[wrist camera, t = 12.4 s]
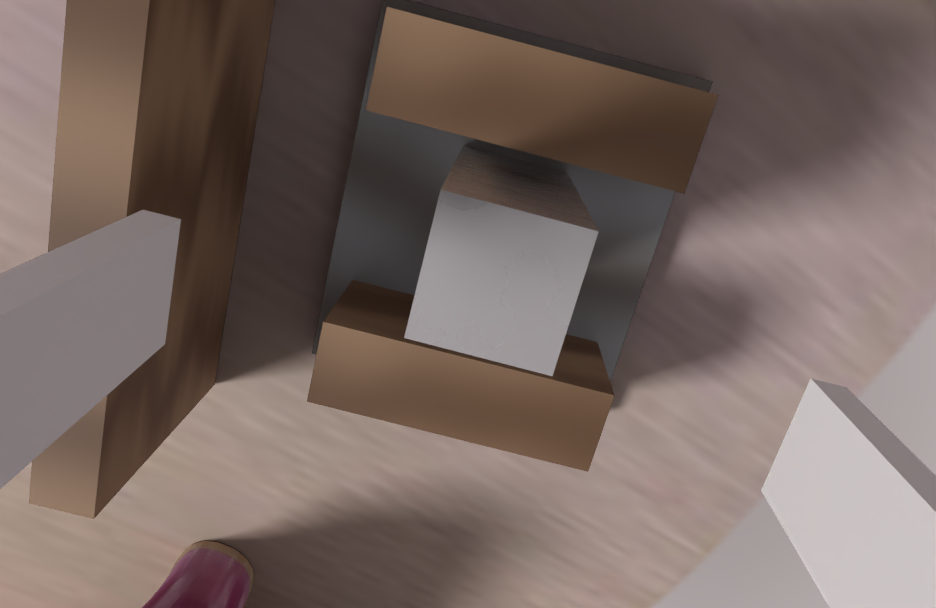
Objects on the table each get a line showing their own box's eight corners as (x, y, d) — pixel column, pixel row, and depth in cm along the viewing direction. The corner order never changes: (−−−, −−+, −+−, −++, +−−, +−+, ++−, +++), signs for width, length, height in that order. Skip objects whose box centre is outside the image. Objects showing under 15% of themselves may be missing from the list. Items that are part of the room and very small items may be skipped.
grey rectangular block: (463, 144, 28) (440, 189, 18) (567, 172, 28) (598, 231, 18) (437, 246, 29) (404, 337, 20) (537, 272, 29) (552, 376, 20)
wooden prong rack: (238, -140, 26) (85, -252, 17) (734, -5, 27) (859, -40, 17) (169, 373, 32) (28, 503, 23) (572, 473, 33) (599, 641, 23)
